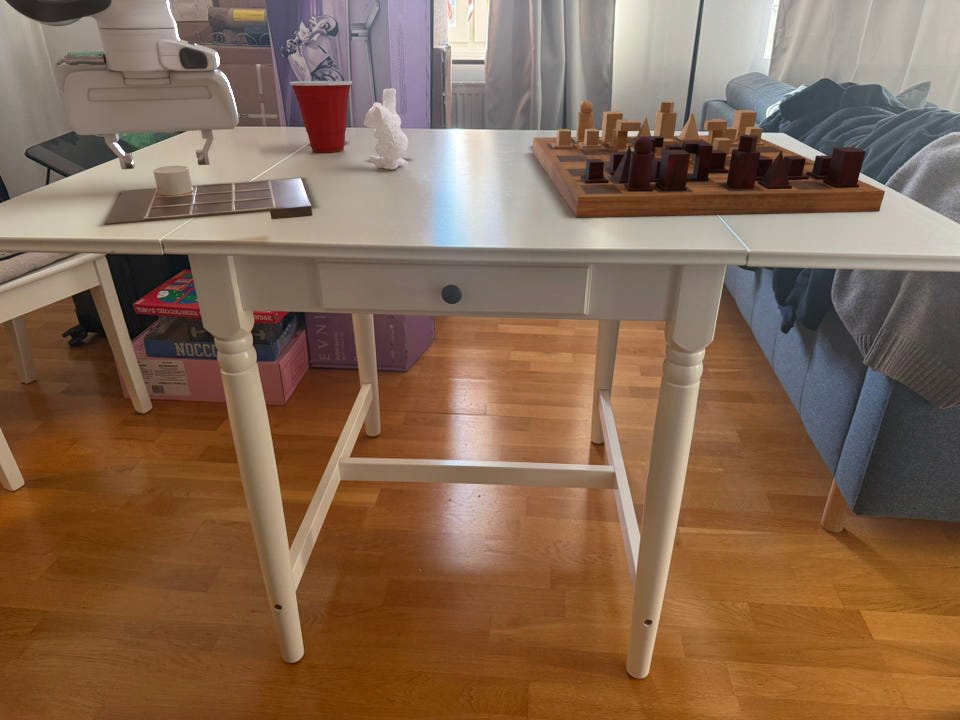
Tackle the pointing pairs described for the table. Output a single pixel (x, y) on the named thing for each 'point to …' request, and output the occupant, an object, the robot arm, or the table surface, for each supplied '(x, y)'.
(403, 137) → the white upright figurine
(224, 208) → the board
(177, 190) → the short white cylinder
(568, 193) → the gameboard
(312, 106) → the plastic cup
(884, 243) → the table surface
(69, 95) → the robot arm
